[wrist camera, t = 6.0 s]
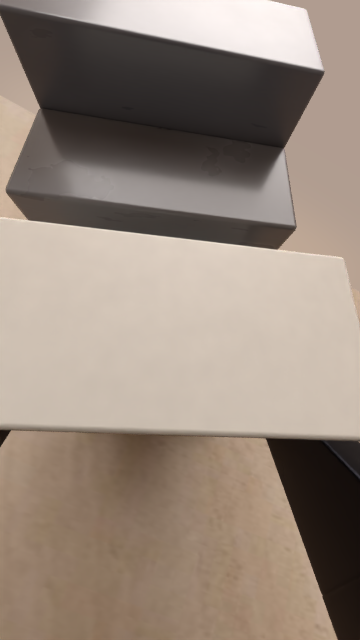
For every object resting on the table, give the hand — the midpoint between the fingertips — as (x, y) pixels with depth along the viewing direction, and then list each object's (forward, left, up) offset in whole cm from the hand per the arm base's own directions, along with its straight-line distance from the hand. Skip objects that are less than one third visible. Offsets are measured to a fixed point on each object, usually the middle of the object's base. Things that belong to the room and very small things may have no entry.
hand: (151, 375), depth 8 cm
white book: (0, -1, -8) cm, 8 cm away
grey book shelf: (-1, -5, -9) cm, 10 cm away
